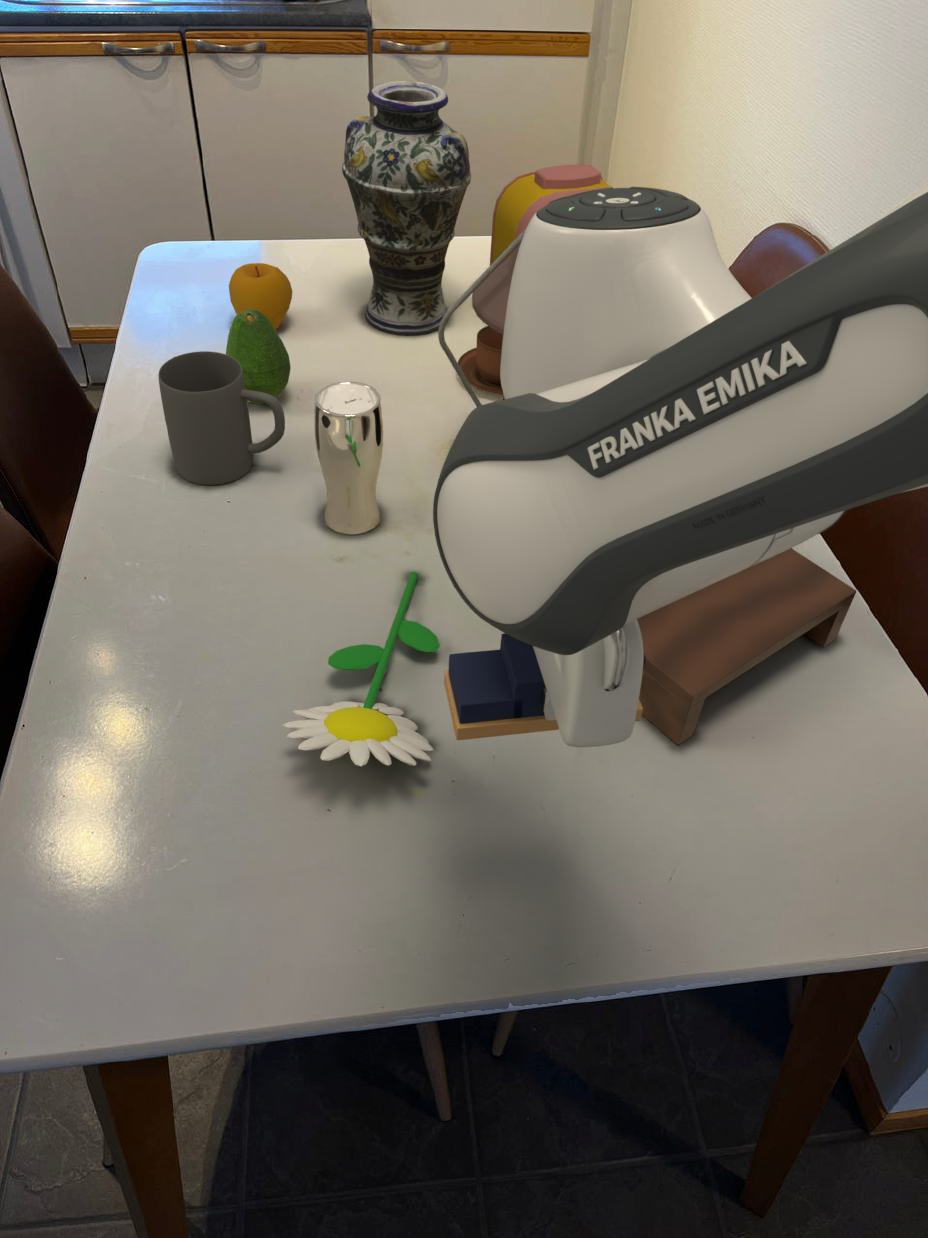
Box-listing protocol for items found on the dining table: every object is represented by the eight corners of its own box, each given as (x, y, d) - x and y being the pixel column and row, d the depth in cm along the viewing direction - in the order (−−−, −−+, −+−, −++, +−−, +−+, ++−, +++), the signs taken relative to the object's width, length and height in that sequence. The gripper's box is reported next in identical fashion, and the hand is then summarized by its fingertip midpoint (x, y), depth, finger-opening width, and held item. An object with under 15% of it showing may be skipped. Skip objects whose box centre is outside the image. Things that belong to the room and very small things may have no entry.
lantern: (650, 438, 121) (702, 191, 100) (648, 531, 107) (707, 268, 87) (455, 413, 123) (466, 167, 102) (428, 502, 109) (435, 238, 89)
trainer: (618, 665, 66) (631, 605, 62) (640, 721, 62) (656, 661, 58) (443, 682, 64) (446, 621, 60) (456, 741, 60) (460, 680, 56)
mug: (161, 480, 110) (142, 386, 102) (192, 437, 117) (177, 345, 108) (276, 498, 109) (266, 404, 100) (301, 453, 115) (294, 362, 107)
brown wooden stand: (835, 639, 96) (857, 590, 92) (677, 746, 85) (693, 696, 81) (693, 540, 107) (705, 492, 102) (536, 623, 96) (542, 574, 91)
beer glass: (312, 531, 105) (302, 410, 94) (332, 494, 110) (325, 375, 99) (374, 542, 104) (371, 421, 93) (391, 504, 109) (391, 386, 98)
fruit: (217, 402, 122) (204, 313, 114) (259, 377, 127) (250, 290, 119) (264, 423, 119) (254, 333, 111) (306, 397, 124) (299, 308, 116)
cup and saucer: (470, 351, 135) (472, 309, 131) (554, 366, 133) (559, 324, 129) (446, 393, 127) (447, 349, 122) (535, 409, 125) (540, 366, 120)
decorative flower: (352, 586, 102) (263, 791, 77) (355, 547, 99) (263, 747, 75) (471, 608, 101) (418, 821, 77) (477, 570, 98) (424, 779, 74)
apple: (296, 313, 141) (292, 253, 135) (292, 341, 135) (287, 280, 129) (237, 312, 140) (230, 252, 134) (230, 340, 134) (222, 279, 128)
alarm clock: (512, 328, 141) (523, 191, 127) (483, 295, 148) (491, 162, 135) (624, 311, 146) (646, 178, 133) (591, 281, 153) (609, 151, 140)
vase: (369, 282, 149) (364, 65, 129) (477, 300, 147) (489, 81, 126) (330, 330, 138) (318, 100, 117) (447, 351, 135) (455, 118, 114)
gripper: (693, 630, 45) (642, 805, 55) (580, 399, 60) (555, 569, 69) (562, 642, 44) (533, 818, 54) (479, 404, 59) (468, 576, 68)
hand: (544, 676), depth 61 cm, fingers closed on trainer, 4 cm apart
